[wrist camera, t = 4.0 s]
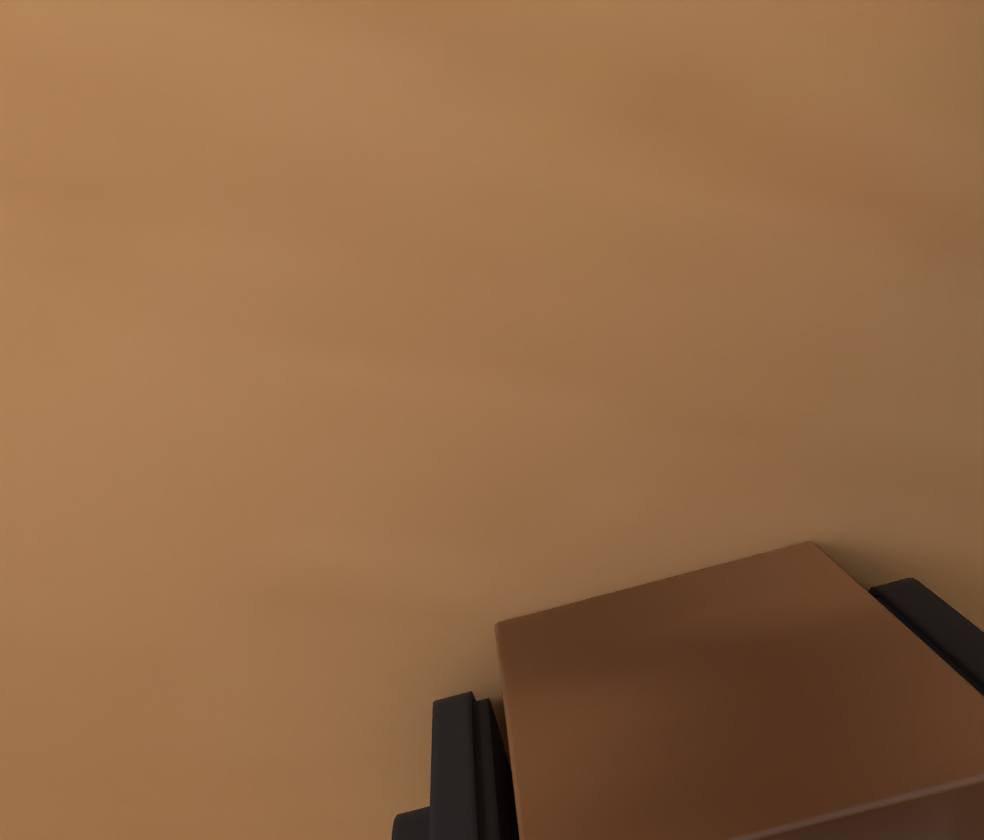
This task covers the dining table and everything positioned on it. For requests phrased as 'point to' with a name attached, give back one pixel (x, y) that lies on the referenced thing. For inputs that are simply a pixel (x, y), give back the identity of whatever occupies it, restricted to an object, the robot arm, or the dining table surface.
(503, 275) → the dining table surface
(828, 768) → the block
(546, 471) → the dining table surface
